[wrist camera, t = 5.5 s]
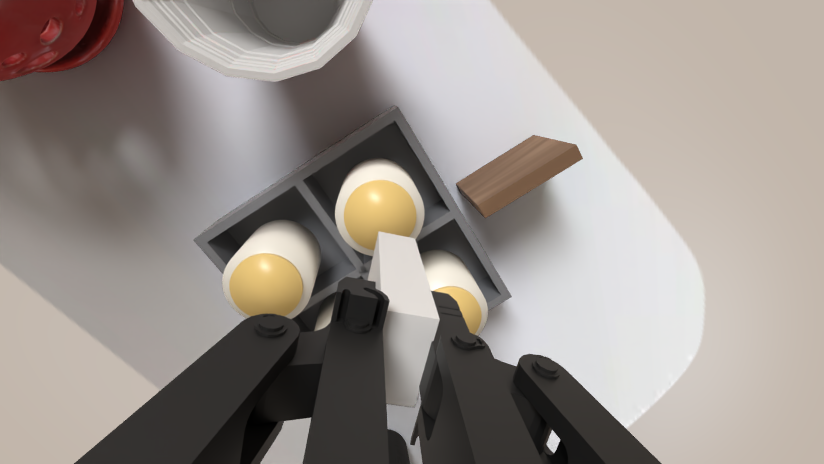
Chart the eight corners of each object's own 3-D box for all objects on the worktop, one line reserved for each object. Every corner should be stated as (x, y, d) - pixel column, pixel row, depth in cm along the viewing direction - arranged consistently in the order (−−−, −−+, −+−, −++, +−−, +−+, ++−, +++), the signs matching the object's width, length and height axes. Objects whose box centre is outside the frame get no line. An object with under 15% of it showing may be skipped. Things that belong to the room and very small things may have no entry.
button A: (231, 245, 28) (200, 277, 23) (292, 205, 28) (274, 230, 22) (277, 299, 30) (258, 342, 24) (335, 263, 29) (328, 299, 24)
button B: (325, 184, 27) (315, 203, 22) (389, 143, 27) (394, 153, 22) (367, 243, 29) (367, 274, 24) (428, 205, 29) (441, 229, 23)
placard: (455, 183, 33) (477, 205, 26) (533, 135, 32) (576, 144, 25) (463, 196, 33) (486, 220, 26) (540, 148, 32) (584, 161, 26)
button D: (388, 273, 30) (392, 309, 25) (448, 236, 29) (464, 266, 24) (424, 323, 31) (435, 367, 26) (481, 289, 31) (503, 327, 26)
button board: (217, 220, 32) (193, 239, 27) (393, 105, 30) (397, 106, 26) (338, 366, 37) (333, 401, 32) (494, 272, 35) (511, 296, 31)
